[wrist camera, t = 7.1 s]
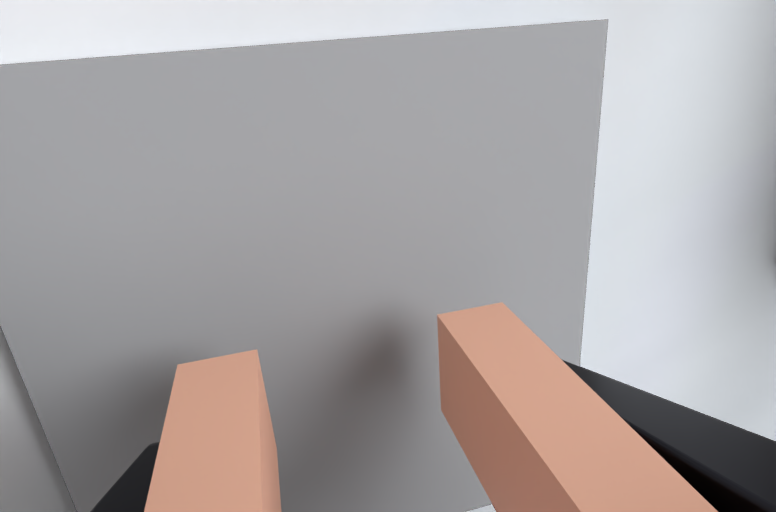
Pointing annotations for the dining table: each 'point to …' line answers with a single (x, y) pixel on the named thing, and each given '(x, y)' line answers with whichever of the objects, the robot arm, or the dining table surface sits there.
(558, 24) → the coaster
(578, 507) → the u-shaped block
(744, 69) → the dining table surface
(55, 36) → the dining table surface
